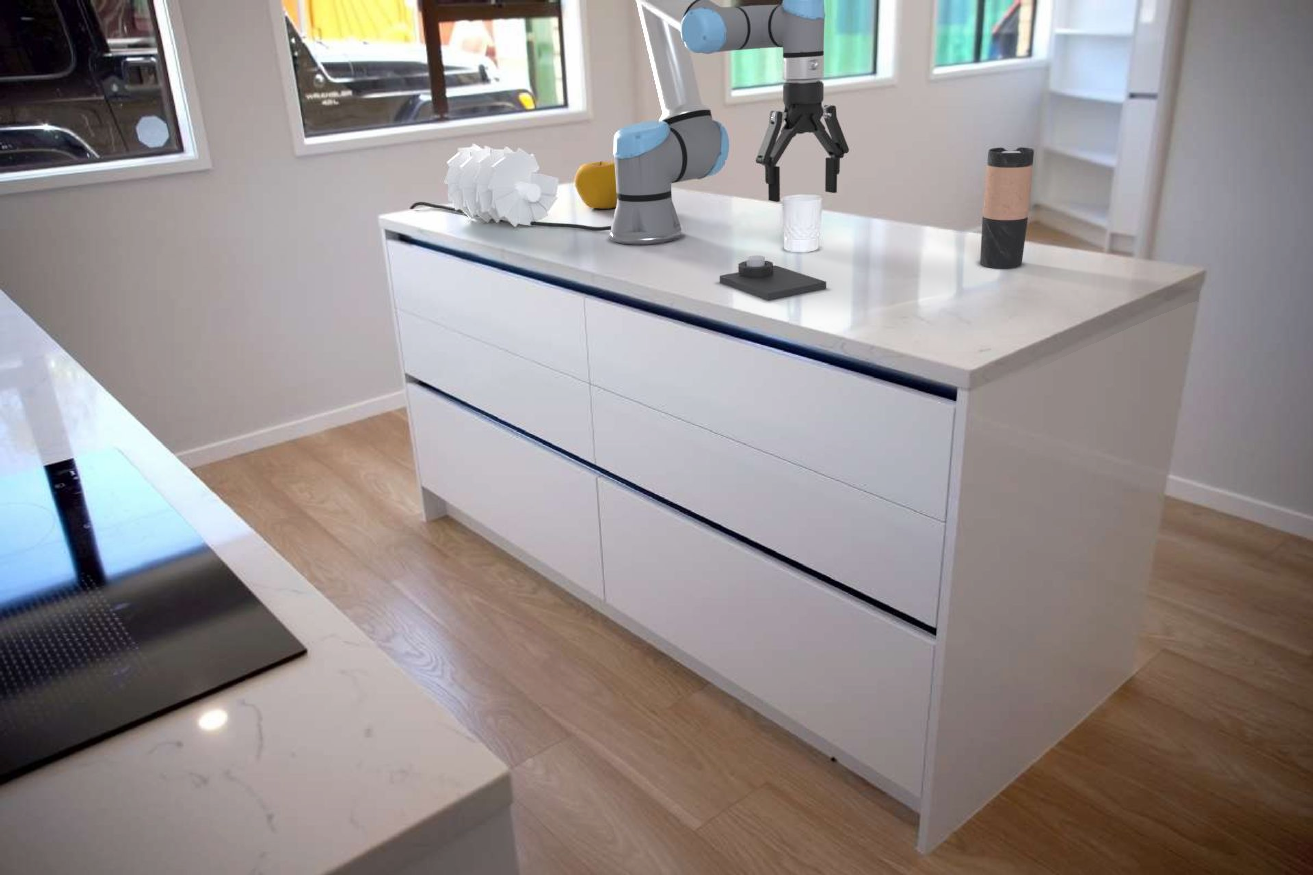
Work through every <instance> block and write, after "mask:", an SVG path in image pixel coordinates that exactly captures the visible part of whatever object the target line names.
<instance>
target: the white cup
mask: <svg viewBox="0 0 1313 875" xmlns="http://www.w3.org/2000/svg"><path fill="white" fill-rule="evenodd" d="M822 211H823V197H822V196H821V195H818V194H791V195H790V194H789V195H787V196H786V195H785V196H782V197H781V214H782V215H781V216H782V218H781V219H782V235H783V245H784V246H783V248H784V250H785V251H787V252H793V253H808V252H809V253H811V252H814V251H817V250H819V246H820V245H819V244H820V236H821V227H822V226H821V225H822V224H821V222H822V213H823V212H822Z"/></svg>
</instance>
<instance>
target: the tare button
mask: <svg viewBox="0 0 1313 875" xmlns="http://www.w3.org/2000/svg"><path fill="white" fill-rule="evenodd" d="M746 261H747V266H749V267H760V266H765V261H766V258H765V256H763V255H750V256H749V255H748V256H746Z"/></svg>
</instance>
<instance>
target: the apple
mask: <svg viewBox="0 0 1313 875" xmlns="http://www.w3.org/2000/svg"><path fill="white" fill-rule="evenodd" d="M573 181H574V186H575V189H576V192H577V194H578V196H579V197H580V198H581V201H582V202H583V203H584V204H585V205H586V206H587V207H589V208H590V209H606V210H607V209H609V210H610V209H614V208H616V206H617V190H616V174H615V161H603V160H601V161H593V162H592V161H591V162H586V163H584V164H581V166H580V167H579V168H578V170H577V171H576V173H575V176H574V180H573Z"/></svg>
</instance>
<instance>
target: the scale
mask: <svg viewBox="0 0 1313 875" xmlns="http://www.w3.org/2000/svg"><path fill="white" fill-rule="evenodd" d="M719 284H721V285H724V286H727V287H729V288H732V289H735V290H737V291H740V292H742V293H745V294H748V295H751V296H753V297H756V298H759V299H761V300H764V301H767V302H771V301H776V300H780V299H786V298H791V297H795V296H800V295H805V294H810V293H815V292H819V291H820V292H821V291H825V290H827V281H825V280H822V279H819V278H816V277H814V276H810V275H807V274H804V273H801V272H798V271H794V270H792V269H789V268H786V267H783V266H779V265H774V263H773V261H769V260H765V266H760V267H749V266H747V260H744V261H741V262H738V264H737V272H733V273H726V274H722V275H719Z"/></svg>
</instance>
